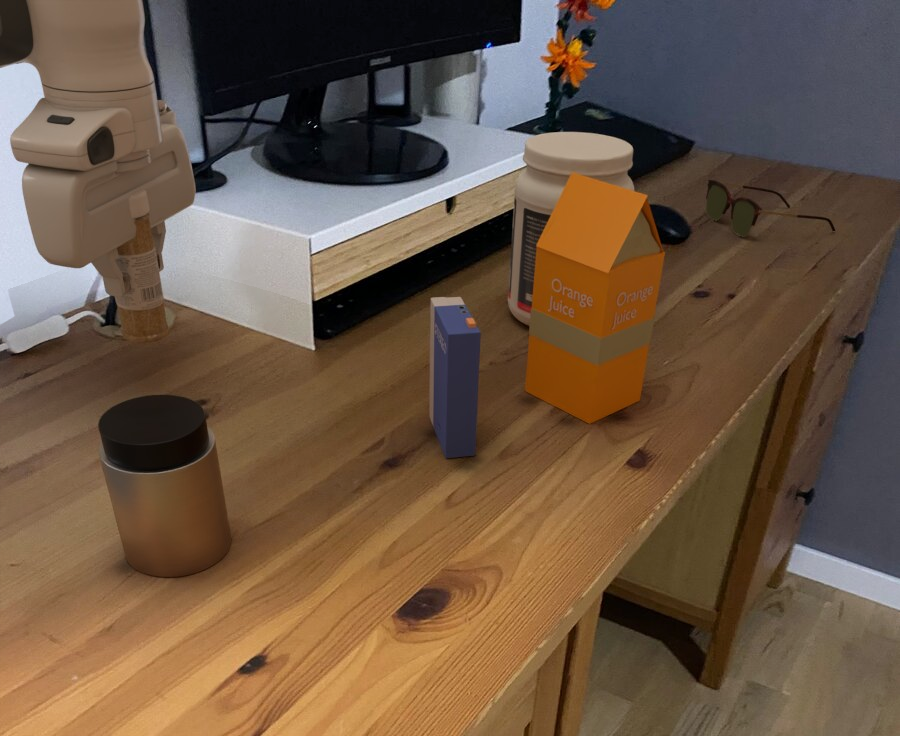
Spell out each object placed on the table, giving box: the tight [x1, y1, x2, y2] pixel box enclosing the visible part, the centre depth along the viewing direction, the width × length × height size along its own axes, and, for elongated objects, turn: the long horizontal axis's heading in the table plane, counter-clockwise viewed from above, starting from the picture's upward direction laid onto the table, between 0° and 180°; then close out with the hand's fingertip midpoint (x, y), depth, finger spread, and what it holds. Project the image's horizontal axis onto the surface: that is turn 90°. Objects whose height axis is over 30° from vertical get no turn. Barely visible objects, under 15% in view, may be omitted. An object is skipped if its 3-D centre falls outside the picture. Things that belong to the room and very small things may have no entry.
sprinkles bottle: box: [114, 190, 170, 344], centre depth 84 cm, size 5×5×13 cm
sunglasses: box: [705, 179, 836, 238], centre depth 133 cm, size 14×15×5 cm
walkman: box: [428, 296, 482, 459], centre depth 80 cm, size 8×3×12 cm, turn 12°
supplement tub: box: [507, 131, 636, 327], centre depth 100 cm, size 13×13×18 cm
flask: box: [97, 394, 232, 578], centre depth 67 cm, size 8×8×11 cm
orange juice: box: [524, 172, 666, 425], centre depth 84 cm, size 8×9×20 cm
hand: (135, 282), depth 85 cm, fingers closed on sprinkles bottle, 4 cm apart
